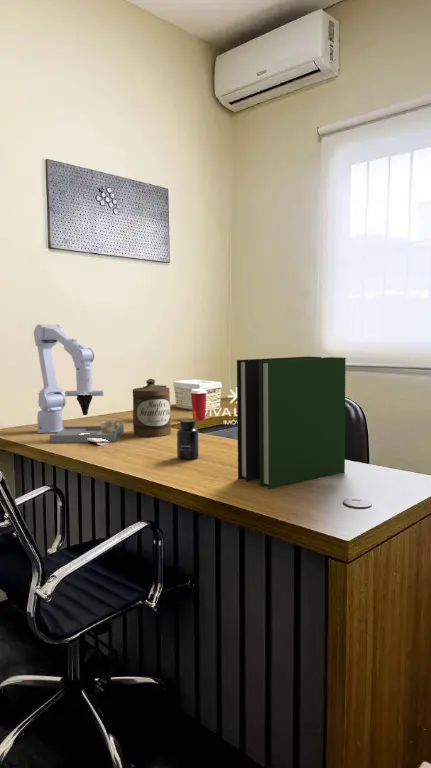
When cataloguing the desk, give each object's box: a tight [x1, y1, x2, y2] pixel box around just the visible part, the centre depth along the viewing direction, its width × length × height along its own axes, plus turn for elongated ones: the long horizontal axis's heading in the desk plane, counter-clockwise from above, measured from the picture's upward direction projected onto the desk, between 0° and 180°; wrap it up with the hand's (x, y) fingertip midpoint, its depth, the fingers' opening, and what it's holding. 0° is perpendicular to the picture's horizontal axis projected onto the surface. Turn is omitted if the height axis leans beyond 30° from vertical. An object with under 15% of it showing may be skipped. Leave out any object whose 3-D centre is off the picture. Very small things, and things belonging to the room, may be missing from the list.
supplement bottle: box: [176, 419, 200, 461], centre depth 168 cm, size 7×7×12 cm
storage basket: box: [173, 378, 223, 412], centre depth 285 cm, size 24×16×15 cm
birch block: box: [100, 420, 118, 433], centre depth 206 cm, size 5×5×4 cm
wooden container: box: [132, 378, 172, 438], centre depth 211 cm, size 15×15×22 cm
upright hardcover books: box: [236, 356, 346, 490], centre depth 145 cm, size 27×15×32 cm, turn 126°
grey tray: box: [49, 422, 125, 444], centre depth 206 cm, size 24×20×4 cm
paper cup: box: [190, 389, 207, 422], centre depth 246 cm, size 8×8×14 cm
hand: (85, 414), depth 205 cm, fingers closed
